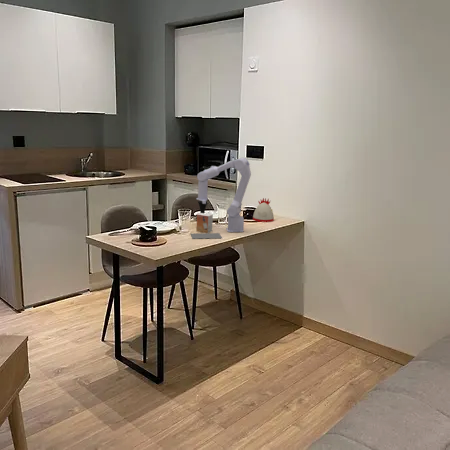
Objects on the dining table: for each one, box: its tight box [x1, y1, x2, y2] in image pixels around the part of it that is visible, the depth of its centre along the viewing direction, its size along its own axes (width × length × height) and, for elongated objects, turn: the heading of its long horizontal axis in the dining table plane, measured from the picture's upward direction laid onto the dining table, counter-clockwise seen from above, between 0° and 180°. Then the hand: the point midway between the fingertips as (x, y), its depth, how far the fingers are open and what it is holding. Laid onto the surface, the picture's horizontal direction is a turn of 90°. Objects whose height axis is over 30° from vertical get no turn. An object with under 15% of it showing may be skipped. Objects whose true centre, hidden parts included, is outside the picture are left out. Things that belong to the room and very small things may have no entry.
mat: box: [190, 232, 223, 240], centre depth 274 cm, size 17×10×1 cm, turn 100°
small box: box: [195, 212, 214, 233], centre depth 283 cm, size 8×6×10 cm
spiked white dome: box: [252, 197, 275, 223], centre depth 318 cm, size 14×14×15 cm
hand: (202, 213), depth 292 cm, fingers closed
